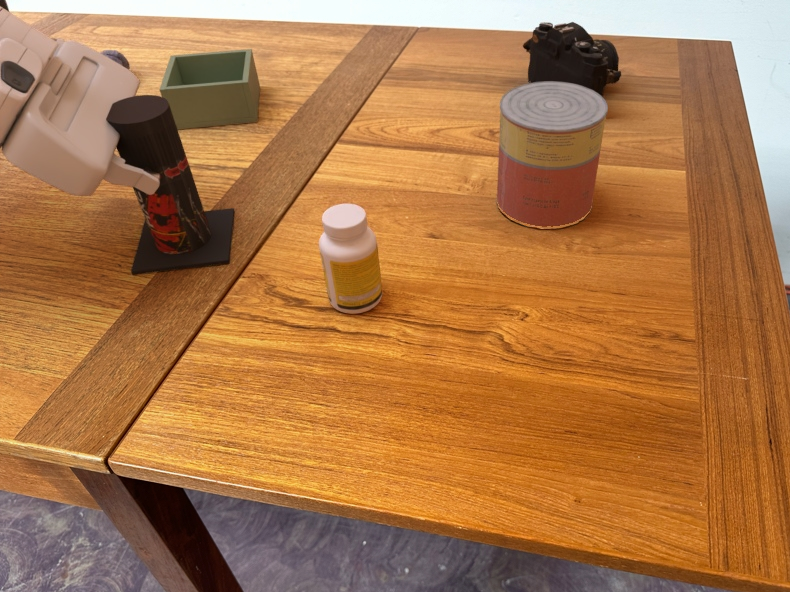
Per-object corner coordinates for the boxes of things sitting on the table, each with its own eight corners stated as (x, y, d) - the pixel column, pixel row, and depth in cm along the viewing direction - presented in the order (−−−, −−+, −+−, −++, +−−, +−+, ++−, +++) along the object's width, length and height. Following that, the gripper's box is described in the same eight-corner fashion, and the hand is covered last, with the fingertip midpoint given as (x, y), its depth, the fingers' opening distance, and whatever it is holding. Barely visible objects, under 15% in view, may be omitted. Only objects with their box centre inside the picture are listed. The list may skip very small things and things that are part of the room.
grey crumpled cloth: (112, 105, 101) (125, 79, 108) (125, 75, 98) (137, 51, 106) (75, 86, 98) (90, 61, 105) (87, 55, 96) (102, 31, 103)
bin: (172, 130, 92) (159, 89, 88) (182, 94, 100) (170, 55, 96) (257, 122, 94) (247, 81, 89) (260, 87, 102) (251, 48, 98)
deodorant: (222, 230, 74) (182, 101, 64) (185, 260, 70) (136, 128, 60) (181, 217, 76) (136, 90, 66) (144, 246, 72) (89, 116, 62)
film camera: (648, 97, 97) (663, 26, 90) (600, 127, 91) (611, 53, 84) (551, 64, 106) (557, -3, 99) (500, 89, 100) (503, 20, 93)
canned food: (608, 193, 79) (625, 96, 71) (564, 241, 73) (577, 140, 64) (525, 167, 84) (532, 73, 75) (477, 209, 77) (479, 111, 69)
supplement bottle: (394, 297, 66) (386, 215, 60) (351, 323, 64) (337, 241, 57) (360, 273, 69) (348, 192, 62) (318, 297, 67) (301, 215, 60)
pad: (132, 275, 70) (130, 271, 69) (146, 220, 77) (145, 217, 76) (229, 263, 71) (228, 260, 70) (234, 211, 78) (233, 207, 77)
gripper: (32, 55, 68) (162, 134, 76) (-37, 155, 53) (132, 240, 61) (59, 5, 65) (190, 93, 73) (-6, 97, 51) (166, 193, 59)
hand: (164, 161), depth 67 cm, fingers open, 8 cm apart
